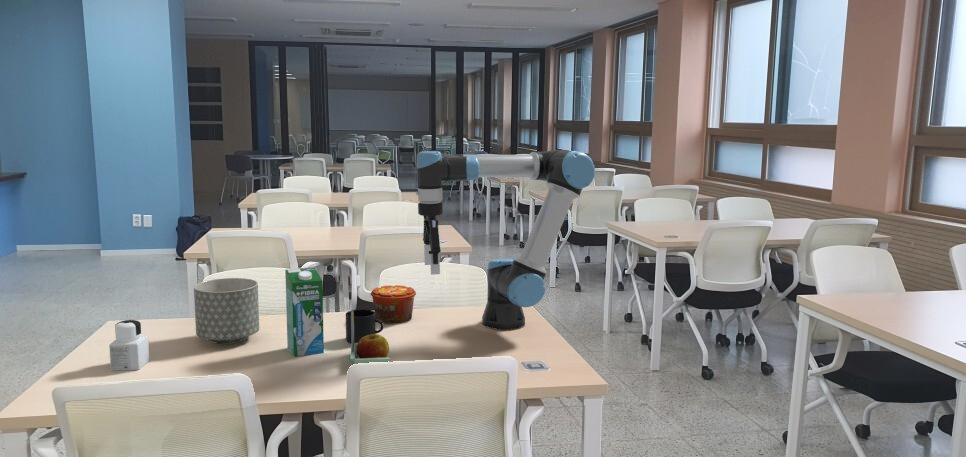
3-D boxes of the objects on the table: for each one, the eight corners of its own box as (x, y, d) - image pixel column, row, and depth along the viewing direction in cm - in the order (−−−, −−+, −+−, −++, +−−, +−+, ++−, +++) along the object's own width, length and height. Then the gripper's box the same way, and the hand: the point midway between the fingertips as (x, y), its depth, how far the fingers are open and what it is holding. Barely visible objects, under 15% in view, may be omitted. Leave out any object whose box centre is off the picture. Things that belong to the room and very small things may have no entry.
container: (122, 361, 206) (119, 318, 204) (149, 360, 207) (147, 317, 205) (110, 370, 198) (107, 325, 196) (139, 370, 199) (136, 325, 197)
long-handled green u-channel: (388, 352, 217) (387, 303, 215) (389, 370, 202) (389, 317, 200) (351, 354, 215) (350, 304, 213) (350, 372, 200) (349, 319, 198)
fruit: (350, 364, 206) (350, 338, 205) (365, 355, 215) (365, 329, 213) (380, 369, 203) (380, 342, 202) (394, 359, 211) (394, 333, 210)
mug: (381, 345, 224) (381, 317, 223) (343, 344, 224) (343, 316, 223) (385, 336, 233) (385, 309, 232) (348, 335, 233) (348, 308, 232)
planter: (271, 340, 227) (269, 285, 224) (214, 354, 213) (211, 295, 211) (241, 327, 240) (239, 275, 237) (185, 339, 226) (183, 284, 223)
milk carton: (294, 356, 212) (291, 275, 208) (287, 348, 220) (285, 269, 216) (323, 352, 216) (322, 272, 212) (316, 344, 224) (314, 266, 220)
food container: (378, 312, 262) (377, 283, 260) (420, 314, 260) (420, 285, 258) (365, 324, 246) (364, 294, 244) (410, 327, 244) (410, 296, 242)
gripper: (413, 197, 229) (415, 261, 233) (423, 207, 205) (425, 279, 209) (436, 196, 231) (438, 260, 235) (449, 206, 207) (450, 277, 210)
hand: (432, 269), depth 222 cm, fingers open, 13 cm apart
